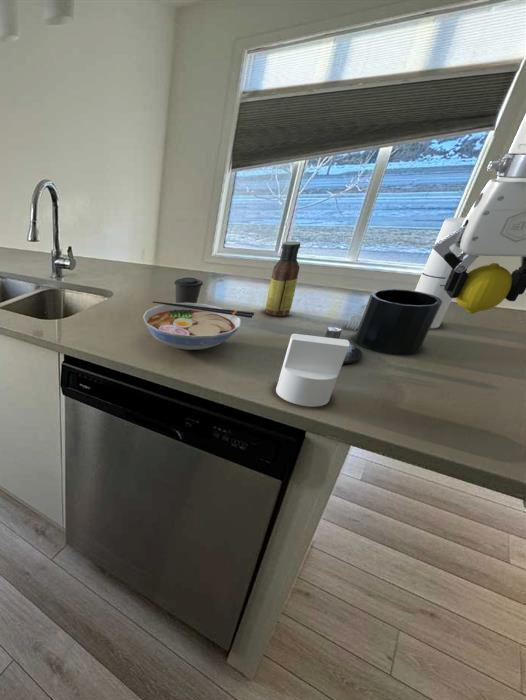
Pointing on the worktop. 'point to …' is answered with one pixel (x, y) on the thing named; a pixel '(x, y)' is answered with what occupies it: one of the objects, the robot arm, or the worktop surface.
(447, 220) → the cylindrical container
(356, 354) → the tin lid
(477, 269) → the lemon
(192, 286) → the coffee cup
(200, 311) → the ramen bowl
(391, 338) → the cup
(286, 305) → the sauce bottle
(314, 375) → the base with upright slab
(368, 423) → the worktop surface
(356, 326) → the fork
